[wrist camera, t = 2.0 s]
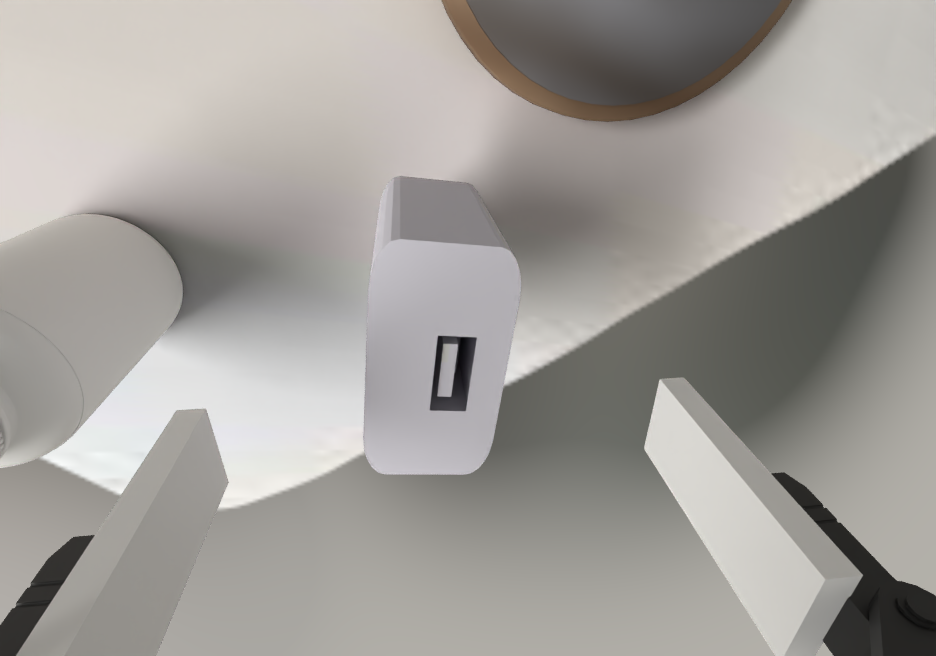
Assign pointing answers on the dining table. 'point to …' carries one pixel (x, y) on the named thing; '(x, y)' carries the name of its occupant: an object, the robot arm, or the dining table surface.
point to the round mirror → (611, 49)
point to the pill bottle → (75, 324)
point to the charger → (436, 329)
